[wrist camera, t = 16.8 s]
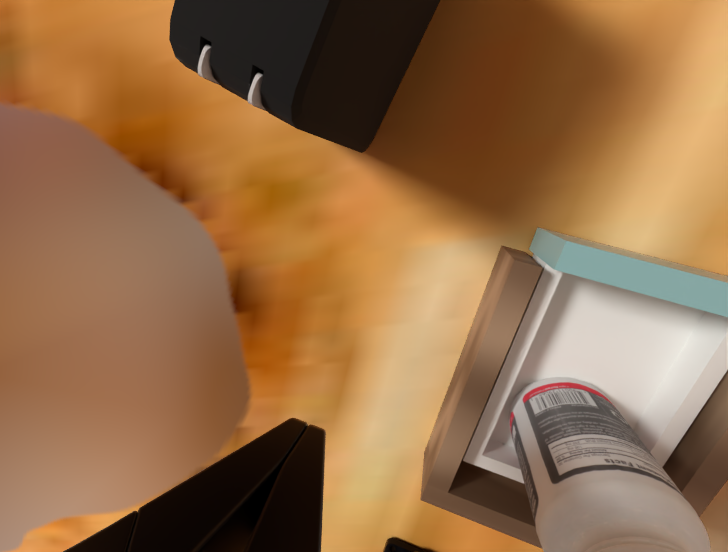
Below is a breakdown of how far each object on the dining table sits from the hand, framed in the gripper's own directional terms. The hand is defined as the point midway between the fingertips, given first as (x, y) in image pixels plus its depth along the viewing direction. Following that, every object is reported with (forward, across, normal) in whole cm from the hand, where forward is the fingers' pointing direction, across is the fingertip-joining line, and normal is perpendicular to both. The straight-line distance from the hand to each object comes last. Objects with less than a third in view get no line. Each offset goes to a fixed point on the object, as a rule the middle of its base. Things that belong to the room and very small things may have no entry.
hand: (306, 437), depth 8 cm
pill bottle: (+12, -11, +4) cm, 17 cm away
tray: (+13, -11, +1) cm, 17 cm away
